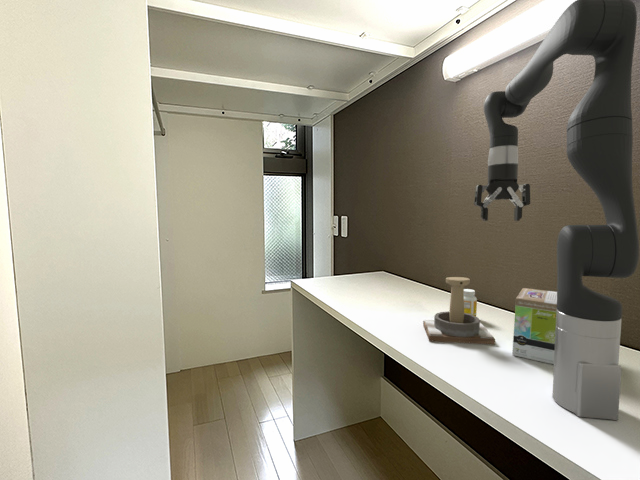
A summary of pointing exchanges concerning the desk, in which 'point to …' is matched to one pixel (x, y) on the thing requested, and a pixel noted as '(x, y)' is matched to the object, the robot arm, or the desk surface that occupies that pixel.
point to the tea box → (535, 325)
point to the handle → (457, 298)
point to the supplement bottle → (470, 302)
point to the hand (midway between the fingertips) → (500, 220)
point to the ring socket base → (457, 330)
